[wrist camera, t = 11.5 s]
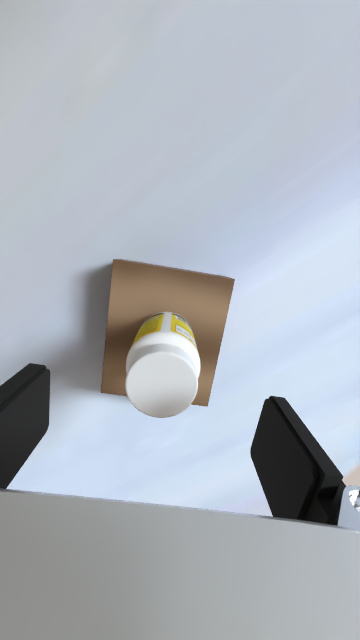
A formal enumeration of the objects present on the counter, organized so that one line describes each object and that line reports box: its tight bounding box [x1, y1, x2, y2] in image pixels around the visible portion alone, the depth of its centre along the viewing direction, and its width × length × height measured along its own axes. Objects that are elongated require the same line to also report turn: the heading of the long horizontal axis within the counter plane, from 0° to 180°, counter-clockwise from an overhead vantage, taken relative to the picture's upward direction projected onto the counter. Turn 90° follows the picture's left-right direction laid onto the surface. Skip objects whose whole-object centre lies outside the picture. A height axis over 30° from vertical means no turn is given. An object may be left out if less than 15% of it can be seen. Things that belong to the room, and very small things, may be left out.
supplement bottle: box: [125, 312, 200, 418], centre depth 17 cm, size 5×5×8 cm
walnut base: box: [101, 259, 235, 406], centre depth 23 cm, size 12×10×3 cm
